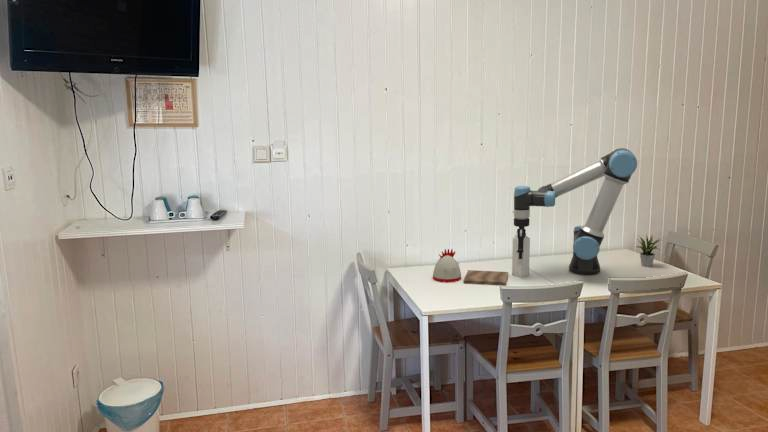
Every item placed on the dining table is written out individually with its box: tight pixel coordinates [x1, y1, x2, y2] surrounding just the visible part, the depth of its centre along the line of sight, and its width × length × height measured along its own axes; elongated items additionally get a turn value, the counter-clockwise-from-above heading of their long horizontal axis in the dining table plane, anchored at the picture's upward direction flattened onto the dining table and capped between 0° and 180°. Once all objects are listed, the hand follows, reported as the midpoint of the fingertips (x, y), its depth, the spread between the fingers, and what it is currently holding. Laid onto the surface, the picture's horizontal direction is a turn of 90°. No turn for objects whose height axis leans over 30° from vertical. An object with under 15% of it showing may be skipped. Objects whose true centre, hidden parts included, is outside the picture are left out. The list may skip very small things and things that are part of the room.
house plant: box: [635, 234, 663, 268], centre depth 318 cm, size 14×14×16 cm
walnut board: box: [462, 269, 509, 286], centre depth 304 cm, size 20×18×2 cm
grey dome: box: [432, 248, 462, 283], centre depth 306 cm, size 14×14×15 cm
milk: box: [511, 232, 531, 278], centre depth 308 cm, size 6×6×22 cm
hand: (520, 262), depth 309 cm, fingers closed on milk, 8 cm apart
